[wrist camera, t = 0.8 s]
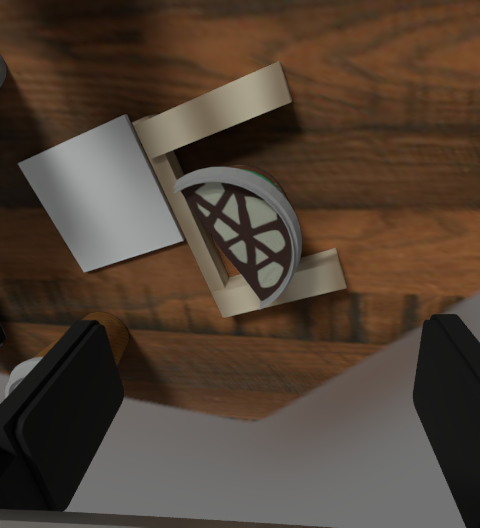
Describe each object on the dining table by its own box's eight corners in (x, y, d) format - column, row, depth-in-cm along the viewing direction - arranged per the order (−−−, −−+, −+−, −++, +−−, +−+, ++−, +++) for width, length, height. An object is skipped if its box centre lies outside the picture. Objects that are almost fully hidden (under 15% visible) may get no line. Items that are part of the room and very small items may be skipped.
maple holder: (279, 59, 29) (277, 56, 27) (344, 275, 37) (347, 290, 34) (142, 120, 33) (129, 123, 30) (226, 305, 41) (221, 320, 38)
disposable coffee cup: (62, 297, 44) (-14, 365, 33) (135, 303, 43) (81, 375, 32) (78, 357, 48) (16, 435, 38) (146, 364, 47) (101, 446, 36)
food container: (324, 232, 35) (333, 281, 27) (272, 261, 38) (263, 315, 29) (256, 121, 32) (239, 135, 23) (202, 160, 34) (168, 186, 25)
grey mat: (126, 114, 33) (124, 114, 33) (185, 238, 38) (183, 240, 37) (21, 162, 37) (17, 163, 36) (86, 270, 42) (83, 272, 41)
